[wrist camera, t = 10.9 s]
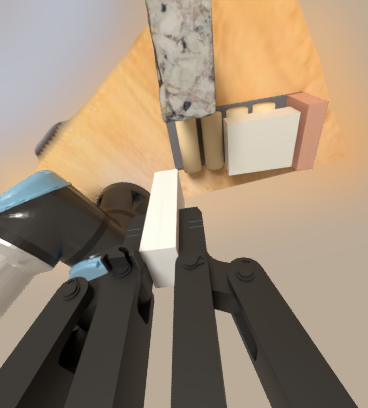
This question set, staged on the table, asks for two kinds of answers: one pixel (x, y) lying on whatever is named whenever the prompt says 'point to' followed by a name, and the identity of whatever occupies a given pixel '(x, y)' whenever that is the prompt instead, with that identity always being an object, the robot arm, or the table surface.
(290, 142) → the slab
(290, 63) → the table surface
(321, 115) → the stop block
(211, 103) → the stone block
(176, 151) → the roller bed
